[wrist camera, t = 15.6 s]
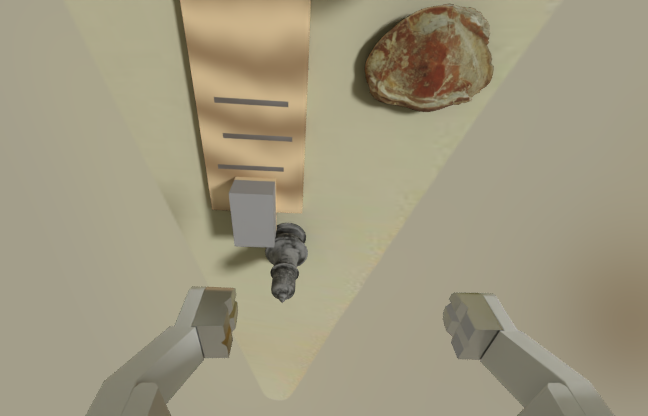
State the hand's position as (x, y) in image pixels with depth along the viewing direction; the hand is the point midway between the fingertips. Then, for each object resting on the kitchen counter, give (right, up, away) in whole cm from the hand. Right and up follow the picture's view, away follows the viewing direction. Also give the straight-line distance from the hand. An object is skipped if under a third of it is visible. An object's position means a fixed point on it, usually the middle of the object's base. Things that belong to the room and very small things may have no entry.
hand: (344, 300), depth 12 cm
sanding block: (-10, +4, +29) cm, 31 cm away
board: (-9, +14, +24) cm, 29 cm away
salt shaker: (-6, -1, +35) cm, 35 cm away
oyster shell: (+11, +20, +22) cm, 31 cm away
